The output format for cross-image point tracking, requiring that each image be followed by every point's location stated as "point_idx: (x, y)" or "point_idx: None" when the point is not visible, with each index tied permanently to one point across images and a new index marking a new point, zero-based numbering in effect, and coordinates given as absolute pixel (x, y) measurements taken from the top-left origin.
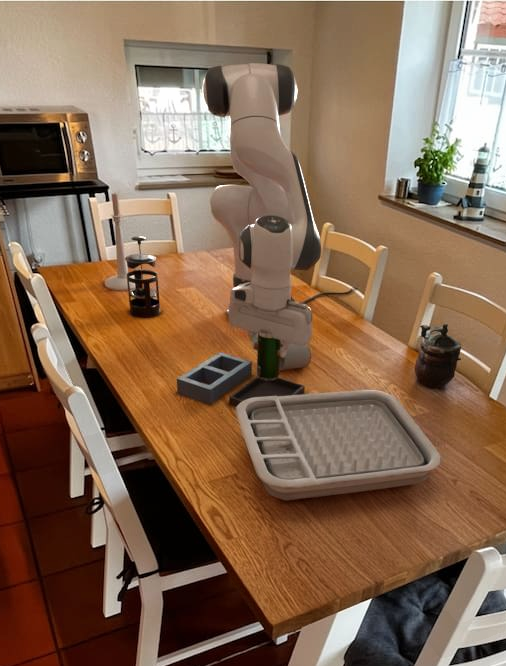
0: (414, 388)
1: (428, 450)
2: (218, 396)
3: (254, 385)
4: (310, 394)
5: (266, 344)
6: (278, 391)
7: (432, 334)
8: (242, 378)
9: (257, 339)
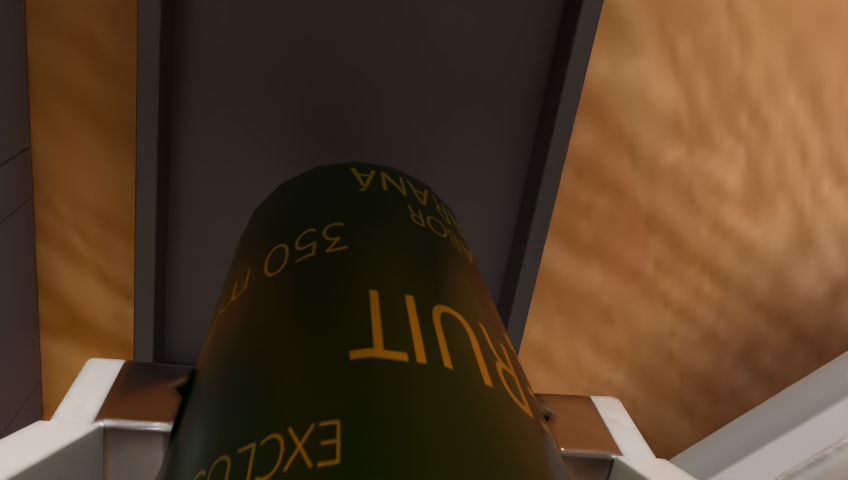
0: None
1: None
2: (30, 351)
3: (171, 73)
4: (824, 475)
5: None
6: (396, 70)
7: None
8: (8, 18)
9: (78, 461)
